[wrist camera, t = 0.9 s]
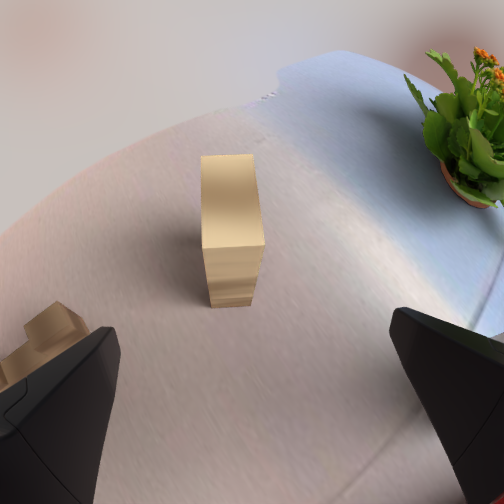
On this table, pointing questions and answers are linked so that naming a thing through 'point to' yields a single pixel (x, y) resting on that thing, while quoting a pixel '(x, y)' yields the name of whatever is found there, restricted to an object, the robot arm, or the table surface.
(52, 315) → the lower notched wooden block
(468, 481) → the robot arm
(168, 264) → the table surface
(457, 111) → the potted flower
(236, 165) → the tall wooden block
